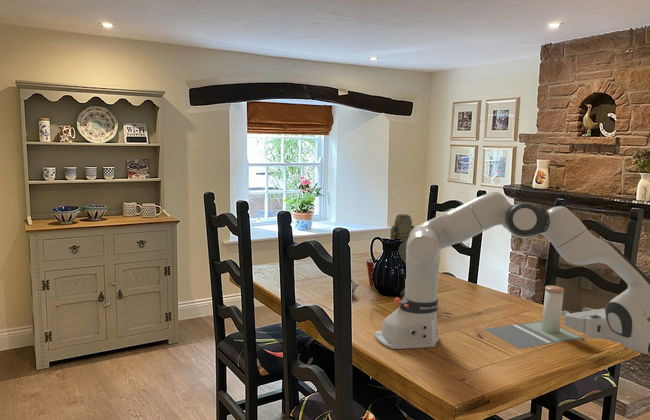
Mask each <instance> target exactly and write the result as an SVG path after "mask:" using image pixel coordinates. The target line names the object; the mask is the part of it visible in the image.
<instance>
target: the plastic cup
mask: <svg viewBox="0 0 650 420" xmlns="http://www.w3.org/2000/svg"><path fill="white" fill-rule="evenodd" d="M372 258H373V257H371V258H366V259H365V262H366V267H367V275H368V282H369V285H370V286H373V282H372V278H371V272H372V267H373V260H372Z"/></svg>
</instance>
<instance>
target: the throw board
mask: <svg viewBox="0 0 650 420" xmlns="http://www.w3.org/2000/svg"><path fill="white" fill-rule="evenodd" d="M483 330H484V331H486V332H488V333H490V334H492V335H493V336H495V337H496V338H497V337H498V338H499V339H500V340H503V341H504V342H507V343H508V344H510V345H512V346H513V347H515V348H517V349H520V350H521V349H526V348H531V347H537V346H538V347H539V346H543V345H550V344H551V345H552V344H557V343H562V342H570V341H574V340H575V341H576V340H581V341H582V342H584V341H585V337H583V336H581V335H579V334H576V333H574V332H572V331H570V330H568V329H566V328H564V327H562V326H560V333H558V334H550V333H546V332H544V331H542V320H538V321H531V322H526V323H525V322H524V323H517V324H516V323H515V324H509V325H504V326H494V327H488V328H483Z"/></svg>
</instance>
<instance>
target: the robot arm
mask: <svg viewBox="0 0 650 420" xmlns="http://www.w3.org/2000/svg"><path fill="white" fill-rule="evenodd" d="M499 225H501V226H503V228H504V229H506V230H507V231H508V232H509V233H510V234H511V235H513V236H514V237H516V238H520V239H528V238H531V237H534V236H536V235H541V236H544V237H545V238H546V239H547V240H548V241H549V242H550V243H551V244H552V246H553V248H554V249H555V250H556V252H557V253H558V254H559V255H560V257H561V258H563V260H565V261H566V262H567V263H569V264H571V265H576V266H586V265H590V264H591V265H592V264H605V265H606V266H608V267H609V268H611V269H612V270H613V272H615V273H616V274H617V275H618V276H619V278H621V280H623V281H624V282H625V284H627V288H626V289H625V290H623V291H622V292H621V293H619V294H618V295H616V296H615V297H613V298H612V299H610V300H609V302H607V303H606V305H605V306H604V308H598V309H595V308H590V307H586V306H585V307H583V308H582V311H577V312H570V311H568V310H562V313H561V317H564V319H563V324H564V326H565V327H567V328H569V329H571V330H573V331H576V332H577V333H580V334H584V336H585V337H586V338H589V339H600V340H601V339H602V340H606V341H607V340H608V341H611V342H613V343H616V344H617V343H618V344H620V345H621V346H622V347H625V348H627V349H629V350H631V351H635V352H637V353H640V354H645V355H650V322H649V321H648V318H650V277H649V276H647V275H646V274H645V273H644V272H643V271H642V270H641V269H639V267H638V266H636V264H634V263H633V262H632V261H631V260H630V258H629V257H627V256H626V255H625V254H624V253H623V252H622V251H621V250H620V249H619V248H618V247H617V246H615V245H614V244H613V243H611V242H609V241H608V240H605V239H600V238H598V237H596V235H594V234H593V233H591V232H590V231H589V229H588V228H587V227H586V226H585V223H583V221H581V220H580V219H579V218H578V217H577V216H576V215H575V213H573V212H572V211H571V210H569V209H568V208H567V207H565V206H562V205H558V206H557V205H556V206H553V207H550V208H549V209H547V210H546V209H544V208H541V207H539V206H537V205H535V204H532V203H528V202H519V203H517V204H512V203H510V202H509V201H508V199H507V198H506V196H505V195H503V194H502V193H500V192H498V191H492V192H489V193H485V194H482V195H479V196H478V197H475V198H472V199H470V200H469V201H467V202H465V203H462V204H461V205H459V206H457V207H455V208H453V209H451V210H449V211H448V212H445V213H444V214H441V215H438V216H435V217H433V218H432V219H429V220H426V221H425V222H422V223H420V224H418V225H416V226H414V228H413V229H412V230H411V232H410V234H409V237H408V241H407V245H406V279H405V295H403V297H402V299H401V298H399V297H398V296H397V297H395V298H394V299H393V301H394V303H396V304H397V305H399V307H398V308H396V309H395V310H394V311H392V313H389V315H388V316H387V317H385V318H384V320H383V322H382V326H381V329H380V330H377V331H375V332H374V338H375V339H376V340H377V342H379V343H380V344H381V345H383V346H384V347H387V348H389V349H393V350H401V349H402V350H403V349H423V348H434V347H436V346H437V343H438V342H439V341H440V334H439V330H438V320H437V312H438V309H439V299H438V288H439V287H438V285H439V270H440V262H441V261H440V260H441V250H443V249H445V248H448V247H450V246H453V245H456V244H460V243H463V242H465V241H468V240H469V239H472V238H474V237H476V236H477V235H479V234H481V233H483V232H485V231H487V230H489V229H491V228H493V227H496V226H499Z"/></svg>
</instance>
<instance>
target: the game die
mask: <svg viewBox="0 0 650 420" xmlns="http://www.w3.org/2000/svg"><path fill="white" fill-rule="evenodd" d="M350 277H351V283H352V296H355V292H356V289H357V287H358V286H360V285H359V284H357V283H356V282H355V281H354V280H353V279H352V277H353V276H350Z"/></svg>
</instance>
